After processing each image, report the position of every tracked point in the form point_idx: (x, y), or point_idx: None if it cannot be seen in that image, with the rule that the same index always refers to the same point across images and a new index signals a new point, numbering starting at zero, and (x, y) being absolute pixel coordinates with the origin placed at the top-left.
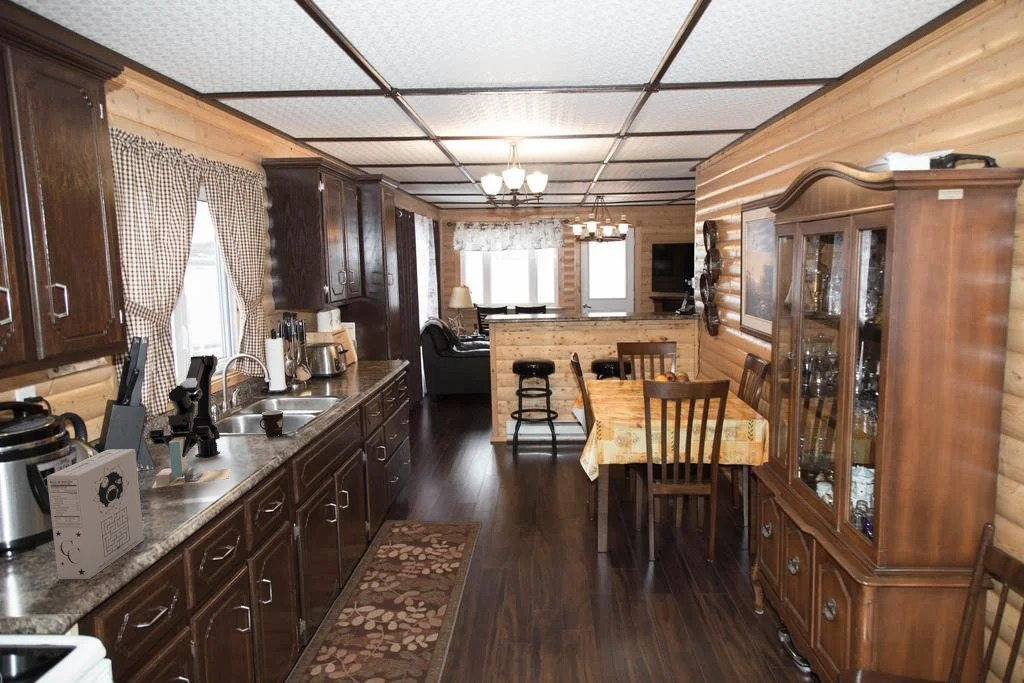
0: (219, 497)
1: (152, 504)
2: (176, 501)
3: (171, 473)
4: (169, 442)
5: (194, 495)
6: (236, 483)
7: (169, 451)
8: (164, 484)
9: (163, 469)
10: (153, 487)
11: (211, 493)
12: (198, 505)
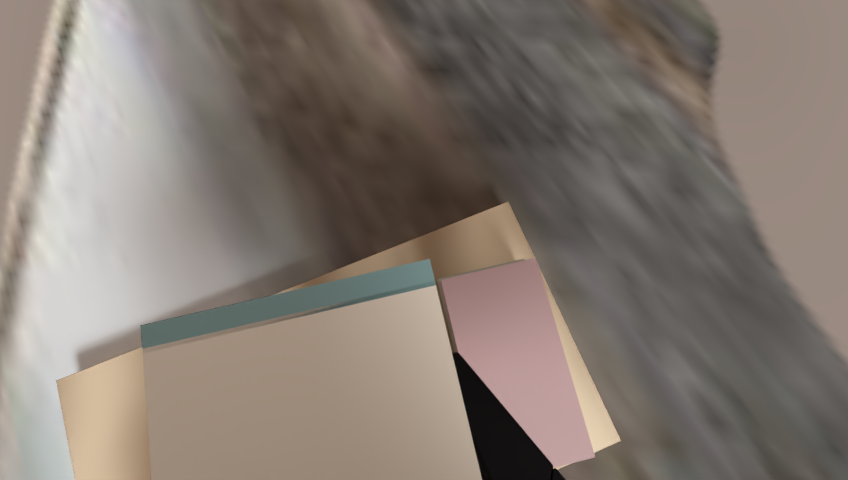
0: (60, 111)
1: (378, 28)
2: (272, 63)
3: (455, 345)
4: (425, 282)
5: (213, 144)
6: (22, 348)
7: (503, 406)
8: (463, 269)
9: (582, 437)
10: (502, 213)
11: (126, 172)
12: (133, 12)
